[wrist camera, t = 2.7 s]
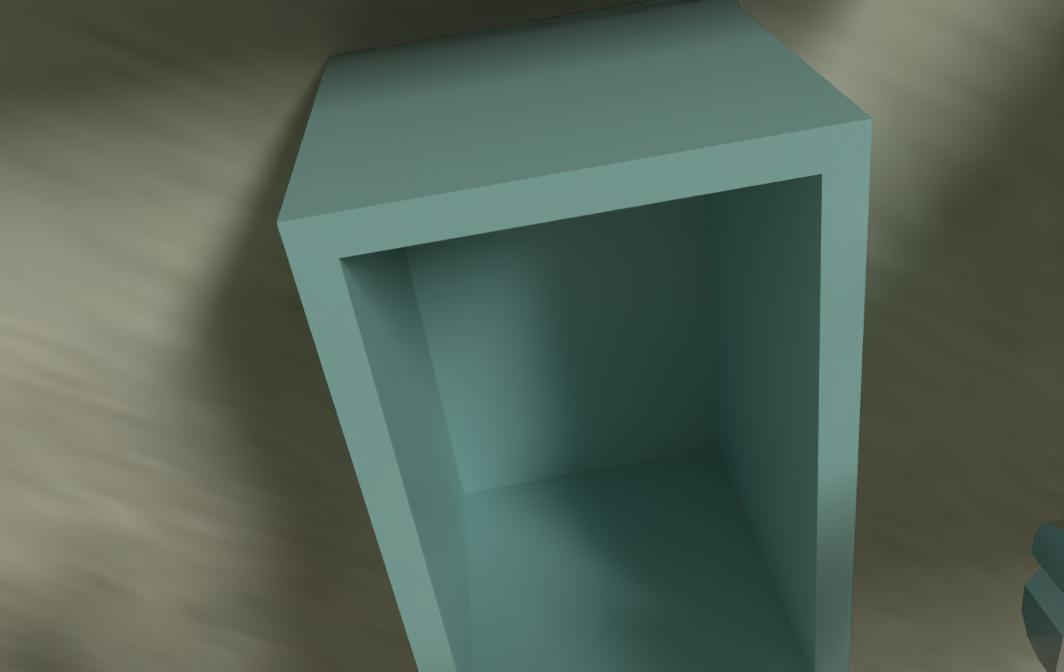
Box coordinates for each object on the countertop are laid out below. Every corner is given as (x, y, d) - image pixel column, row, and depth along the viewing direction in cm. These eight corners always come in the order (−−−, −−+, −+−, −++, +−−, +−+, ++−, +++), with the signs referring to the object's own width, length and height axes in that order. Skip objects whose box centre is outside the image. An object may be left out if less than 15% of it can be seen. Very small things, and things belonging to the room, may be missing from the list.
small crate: (737, 448, 19) (847, 698, 14) (443, 499, 19) (448, 768, 14) (716, -11, 15) (872, 118, 10) (327, 57, 15) (276, 222, 10)
